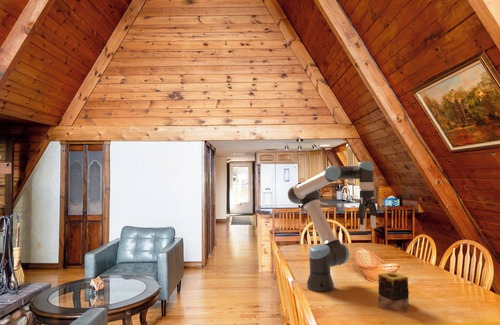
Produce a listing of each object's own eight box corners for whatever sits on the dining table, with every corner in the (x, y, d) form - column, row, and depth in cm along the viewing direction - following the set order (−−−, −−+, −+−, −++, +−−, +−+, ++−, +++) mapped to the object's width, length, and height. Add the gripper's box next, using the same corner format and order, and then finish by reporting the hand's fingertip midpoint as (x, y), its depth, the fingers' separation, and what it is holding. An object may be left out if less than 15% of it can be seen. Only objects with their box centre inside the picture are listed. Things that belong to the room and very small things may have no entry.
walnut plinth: (378, 308, 160) (378, 298, 160) (383, 300, 170) (382, 290, 171) (405, 313, 154) (405, 302, 154) (408, 304, 164) (408, 294, 164)
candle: (393, 301, 156) (392, 279, 156) (377, 294, 165) (377, 274, 166) (409, 298, 160) (408, 277, 160) (393, 291, 169) (392, 271, 169)
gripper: (363, 191, 169) (364, 232, 168) (382, 189, 187) (384, 226, 186) (349, 190, 174) (351, 231, 174) (369, 189, 193) (371, 225, 192)
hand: (368, 229), depth 180 cm, fingers open, 13 cm apart
